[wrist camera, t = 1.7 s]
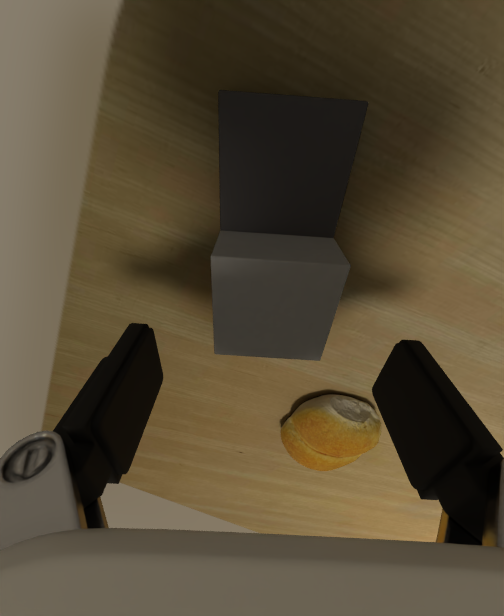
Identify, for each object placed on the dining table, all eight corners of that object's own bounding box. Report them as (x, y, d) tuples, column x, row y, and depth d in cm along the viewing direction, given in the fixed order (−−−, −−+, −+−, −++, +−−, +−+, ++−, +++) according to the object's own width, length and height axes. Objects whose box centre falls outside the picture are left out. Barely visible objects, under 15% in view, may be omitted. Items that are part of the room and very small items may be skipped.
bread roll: (270, 433, 26) (271, 476, 23) (308, 383, 21) (316, 429, 18) (340, 447, 28) (351, 490, 25) (391, 403, 23) (413, 450, 20)
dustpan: (222, 93, 10) (202, 77, 7) (357, 103, 10) (408, 93, 7) (224, 308, 17) (214, 357, 13) (307, 313, 17) (319, 363, 13)
